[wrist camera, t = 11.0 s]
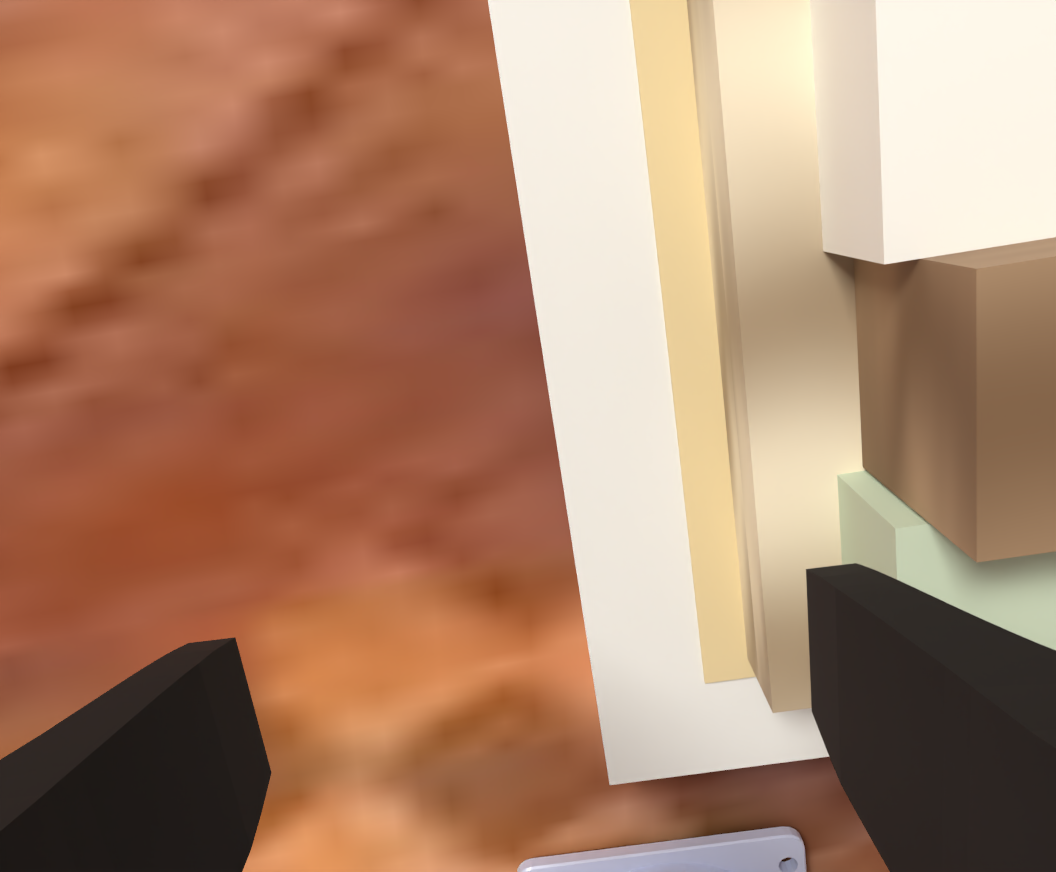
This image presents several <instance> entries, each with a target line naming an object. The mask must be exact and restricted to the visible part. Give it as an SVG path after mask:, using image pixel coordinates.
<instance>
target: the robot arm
mask: <svg viewBox="0 0 1056 872" xmlns="http://www.w3.org/2000/svg"><path fill="white" fill-rule="evenodd" d="M806 583H807V607H808V632H809V657H810V682H811V706H812V714H813V716H814V719H815V721H816V724H817V726H818V729H819V731H820V734H821V737H822V739H823V742H824V744H825V747H826V749H827V752H828V754H829V757H830V759H831V761H832V764H833V766H834V769H835V771H836V773H837V776H838V778H839V781H840V783H841V785H842V787H843V789H844V791H845V792H846V794H847V796H848V798H849V800H850V802H851V803H852V805H853V807H854V809H855V811H856V812H857V814H858V816H859V818H860V820H861V821H862V823H863V825H864V827H865V828H866V830H867V832H868V834H869V836H870V837H871V839H872V841H873V843H874V845H875V846H876V848H877V850H878V852H879V853H880V855H881V857H882V859H883V860H884V862H885V864H886V866H887V867H888V869H889V871H890V872H1056V650H1054V649H1051V648H1049V647H1046V646H1043V645H1041V644H1038V643H1036V642H1034V641H1031V640H1029V639H1027V638H1024V637H1022V636H1020V635H1017V634H1015V633H1013V632H1010V631H1008V630H1006V629H1003V628H1001V627H999V626H997V625H994V624H992V623H990V622H988V621H985V620H983V619H981V618H979V617H977V616H974V615H972V614H970V613H968V612H966V611H963V610H961V609H959V608H957V607H955V606H953V605H950V604H948V603H946V602H944V601H942V600H940V599H938V598H935V597H933V596H931V595H929V594H927V593H925V592H923V591H920V590H918V589H916V588H914V587H912V586H910V585H908V584H905V583H903V582H901V581H899V580H897V579H895V578H892V577H890V576H888V575H886V574H883V573H881V572H879V571H876V570H874V569H871V568H869V567H866V566H863V565H860V564H857V563H853V564H844V565H836V566H828V567H819V568H811V569H806ZM270 776H271V770H270V766H269V762H268V758H267V755H266V751H265V747H264V744H263V740H262V736H261V732H260V729H259V725H258V721H257V717H256V714H255V710H254V706H253V702H252V699H251V695H250V691H249V687H248V684H247V680H246V676H245V672H244V669H243V665H242V661H241V657H240V654H239V650H238V646H237V642H236V639H235V638H228V639H220V640H211V641H203V642H195V643H188V644H186V645H184V646H182V647H180V648H178V649H176V650H174V651H172V652H170V653H168V654H166V655H165V656H163V657H161V658H160V659H158V660H156V661H154V662H153V663H151V664H150V665H148V666H146V667H145V668H143V669H141V670H140V671H138V672H137V673H135V674H134V675H132V676H130V677H129V678H127V679H126V680H124V681H123V682H121V683H120V684H118V685H117V686H115V687H113V688H112V689H110V690H109V691H107V692H106V693H104V694H103V695H101V696H100V697H98V698H97V699H95V700H94V701H92V702H90V703H89V704H87V705H86V706H84V707H83V708H81V709H80V710H78V711H77V712H75V713H74V714H72V715H71V716H69V717H68V718H66V719H64V720H63V721H61V722H60V723H58V724H57V725H55V726H54V727H52V728H51V729H49V730H48V731H46V732H45V733H43V734H41V735H40V736H38V737H37V738H35V739H33V740H32V741H30V742H29V743H27V744H25V745H24V746H22V747H20V748H19V749H17V750H16V751H14V752H12V753H11V754H9V755H7V756H6V757H4V758H3V759H1V760H0V872H242V870H243V868H244V865H245V863H246V860H247V858H248V855H249V853H250V850H251V847H252V844H253V840H254V837H255V833H256V830H257V826H258V823H259V819H260V816H261V812H262V808H263V804H264V800H265V796H266V792H267V788H268V784H269V780H270ZM787 857H788V858H791V859H790V860H788V861H785V862H783V861H781V860H782V859H784V858H787ZM517 872H807V871H806V858H805V846H804V843H803V841H802V838H801V836H800V833H799V832H798V831H797V830H796V829H794V828H791V827H783V826H782V827H774V828H766V829H758V830H750V831H742V832H735V833H727V834H719V835H711V836H703V837H695V838H687V839H679V840H672V841H664V842H656V843H648V844H640V845H632V846H624V847H617V848H609V849H601V850H593V851H585V852H577V853H569V854H561V855H554V856H546V857H538V858H531V859H528V860H525V861H524V862H522V863H521V864H520V865H519V867H518V869H517Z"/></svg>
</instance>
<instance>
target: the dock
mask: <svg viewBox="0 0 1056 872" xmlns="http://www.w3.org/2000/svg"><path fill="white" fill-rule="evenodd" d="M488 4H489V10H490V17H491V23H492V30H493V36H494V42H495V49H496V55H497V62H498V68H499V75H500V81H501V88H502V94H503V100H504V107H505V113H506V120H507V126H508V133H509V139H510V146H511V152H512V158H513V165H514V171H515V178H516V184H517V191H518V197H519V204H520V210H521V216H522V223H523V229H524V236H525V242H526V249H527V255H528V262H529V268H530V274H531V281H532V287H533V294H534V300H535V307H536V313H537V320H538V326H539V333H540V339H541V345H542V352H543V358H544V365H545V371H546V378H547V384H548V391H549V397H550V403H551V410H552V416H553V423H554V429H555V436H556V442H557V449H558V455H559V461H560V468H561V474H562V481H563V487H564V494H565V500H566V507H567V513H568V519H569V526H570V532H571V539H572V545H573V552H574V558H575V565H576V571H577V577H578V584H579V590H580V597H581V603H582V610H583V616H584V623H585V629H586V635H587V642H588V648H589V655H590V661H591V668H592V674H593V681H594V687H595V693H596V700H597V706H598V713H599V719H600V726H601V732H602V739H603V745H604V751H605V758H606V764H607V771H608V777H609V784H610V785H615V784H623V783H630V782H638V781H646V780H653V779H661V778H669V777H676V776H684V775H692V774H699V773H707V772H715V771H722V770H730V769H738V768H745V767H753V766H761V765H768V764H776V763H783V762H791V761H799V760H806V759H814V758H822V757H829V754H828V752H827V749H826V747H825V744H824V742H823V739H822V737H821V734H820V731H819V729H818V726H817V724H816V721H815V719H814V716H813V714H812V708H807V709H800V710H792V711H785V712H777V713H773V712H772V710H771V708H770V706H769V704H768V702H767V700H766V697H765V695H764V693H763V691H762V689H761V687H760V684H759V682H758V680H757V678H756V676H755V674H754V672H753V669H752V667H751V665H750V663H749V661H748V658H747V647H746V637H745V626H744V615H743V604H742V593H741V583H740V572H739V561H738V550H737V539H736V528H735V518H734V507H733V496H732V485H731V474H730V463H729V453H728V442H727V431H726V420H725V409H724V399H723V388H722V377H721V366H720V355H719V344H718V334H717V323H716V312H715V301H714V290H713V280H712V269H711V258H710V247H709V236H708V225H707V215H706V204H705V193H704V182H703V171H702V161H701V150H700V139H699V128H698V117H697V106H696V96H695V85H694V74H693V63H692V52H691V42H690V31H689V20H688V9H687V0H488Z"/></svg>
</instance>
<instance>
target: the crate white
mask: <svg viewBox="0 0 1056 872" xmlns="http://www.w3.org/2000/svg"><path fill="white" fill-rule="evenodd" d="M810 17H811V36H812V54H813V73H814V91H815V109H816V128H817V146H818V165H819V183H820V202H821V220H822V238H823V251H824V252H829V253H834V254H838V255H843V256H847V257H852V258H857V259H861V260H866V261H871V262H875V263H880V264H890V263H897V262H903V261H909V260H916V259H922V258H928V257H934V256H941V255H947V254H953V253H960V252H966V251H972V250H978V249H985V248H991V247H997V246H1003V245H1010V244H1016V243H1022V242H1029V241H1035V240H1041V239H1047V238H1054V237H1056V0H810Z"/></svg>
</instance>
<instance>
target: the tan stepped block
mask: <svg viewBox="0 0 1056 872" xmlns="http://www.w3.org/2000/svg"><path fill="white" fill-rule="evenodd" d="M687 9H688V20H689V31H690V42H691V52H692V63H693V74H694V85H695V96H696V106H697V117H698V128H699V139H700V150H701V161H702V171H703V182H704V193H705V204H706V215H707V225H708V236H709V247H710V258H711V269H712V280H713V290H714V301H715V312H716V323H717V334H718V344H719V355H720V366H721V377H722V388H723V399H724V409H725V420H726V431H727V442H728V453H729V463H730V474H731V485H732V496H733V507H734V518H735V528H736V539H737V550H738V561H739V572H740V583H741V593H742V604H743V615H744V626H745V637H746V647H747V658H748V661H749V663H750V665H751V667H752V669H753V672H754V674H755V676H756V678H757V680H758V682H759V684H760V687H761V689H762V691H763V693H764V695H765V697H766V700H767V702H768V704H769V706H770V708H771V710H772V712H773V713H777V712H785V711H792V710H800V709H807V708H812V706H811V682H810V657H809V632H808V607H807V583H806V569H811V568H819V567H828V566H836V565H842V555H841V536H840V518H839V499H838V480H837V475H838V474H845V473H852V472H859V471H865V470H867V471H868V472H869V473H870V474H871V475H873V476H874V477H875V478H876V479H877V480H879V481H880V482H881V483H882V484H883V485H885V486H886V487H887V488H888V489H889V490H891V491H892V492H893V493H894V494H895V495H897V496H898V497H899V498H900V499H901V500H902V501H904V502H905V503H906V504H907V505H908V506H910V507H911V508H912V509H913V510H914V511H916V512H917V513H918V514H919V515H920V516H922V517H923V518H924V519H925V520H926V521H928V522H929V523H930V524H931V525H932V526H934V527H935V528H936V529H937V530H938V531H939V532H941V533H942V534H943V535H944V536H945V537H947V538H948V539H949V540H950V541H951V542H953V543H954V544H955V545H956V546H957V547H959V548H960V549H961V550H962V551H963V552H965V553H966V554H967V555H968V556H969V557H971V558H972V559H973V560H974V561H975V562H984V561H991V560H998V559H1005V558H1012V557H1020V556H1027V555H1034V554H1041V553H1048V552H1055V551H1056V237H1054V238H1047V239H1041V240H1035V241H1029V242H1022V243H1016V244H1010V245H1003V246H997V247H991V248H985V249H978V250H972V251H966V252H960V253H953V254H947V255H941V256H934V257H928V258H922V259H916V260H909V261H903V262H897V263H890V264H880V263H875V262H871V261H866V260H861V259H857V258H852V257H847V256H843V255H838V254H834V253H829V252H824V251H823V238H822V220H821V202H820V183H819V165H818V146H817V128H816V109H815V91H814V73H813V54H812V36H811V17H810V0H687Z"/></svg>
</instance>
